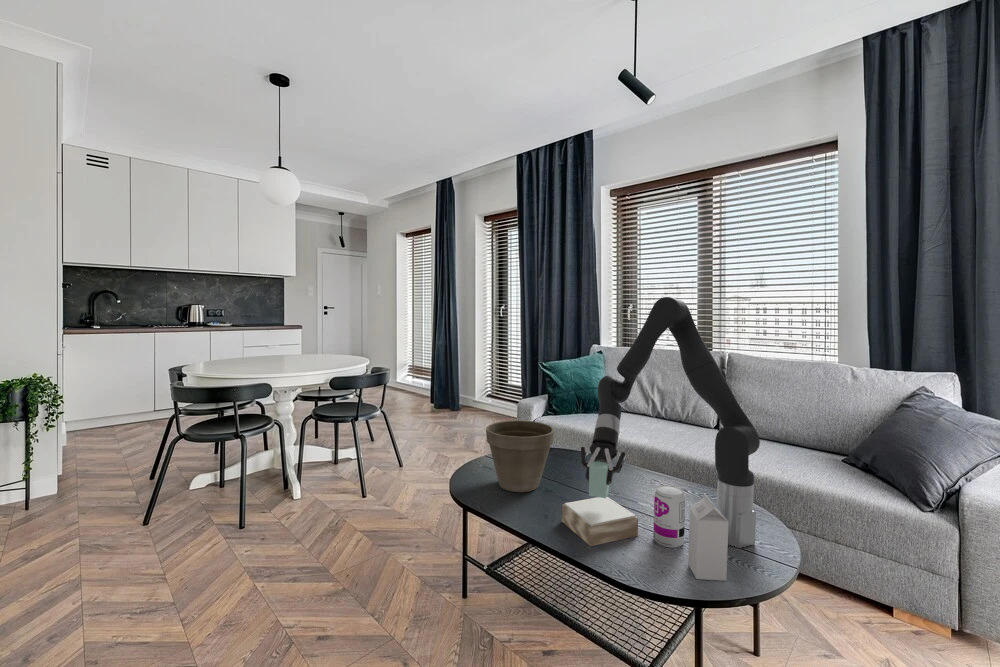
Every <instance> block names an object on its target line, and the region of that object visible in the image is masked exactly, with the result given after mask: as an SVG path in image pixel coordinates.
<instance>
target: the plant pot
mask: <svg viewBox="0 0 1000 667" xmlns="http://www.w3.org/2000/svg"><path fill="white" fill-rule="evenodd" d="M485 432H486V435H485V436H486V442H487V444H489V448H490V452H491V456H492V457H491V458H492V461H493V464H494V469H495V473H496V478H497V480H498V484H499V486H500V488H501V489H503V490H505V491H509V492H513V493H528V492H532V490H533V491H535V490H536V489H538V488H539V486H540V483H541V481H542V480H541V479H542V477H543V473H544V469H545V466H546V463H547V460H548V456H549V453H550V448H551V446H552V445H553V443H554V436H555V429H554V427H552V426H551V425H549V424H548V423H547V424H546V423H543V422H539V421H531V420H504V421H503V420H502V421H498V422H494V423H491V424H489V425H487V426H486V427H485Z"/></svg>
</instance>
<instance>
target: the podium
mask: <svg viewBox="0 0 1000 667" xmlns="http://www.w3.org/2000/svg"><path fill="white" fill-rule="evenodd" d="M561 508H562V510H561V513H562V514H561V516H562V518H561V522H562V523H563V524H564V525H565V526H566V527H568V528H569V529H570V530H571V531H572V532H573V533H574V534H576V535H577V536H578V537H579V538H580V539H581V540H583V542H585V543H586V544H588V546H589V547H593V546H598V545H601V544H602V545H603V544H607V543H611V542H615V541H620V540H624V539H628V538H629V539H630V538H635V537H638V535H639V517H638V516H637V515H636V514H635V513H633V512H632V511H630V510H628V509H627V508H625V507H624V506H623V505H621V504H619V503H617V502H616V501H615V500H613V499H611V498H610V497H609V496H607V497H606V498H601V497H592V498H587V499H582V500H576V501H571V502H570V501H569V502H564V504H562V507H561Z"/></svg>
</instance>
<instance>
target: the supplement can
mask: <svg viewBox="0 0 1000 667" xmlns="http://www.w3.org/2000/svg"><path fill="white" fill-rule="evenodd" d="M653 499H654V500H653V501H654V503H653V505H654V506H653V539H654V541H656V543H657V544H658V545H660V546H662V547H665V548H671V549H676V548H677V549H678V548H680V547H681V546H683V545H684V544H685V529H686V528H685V524H686V522H685V521H686V520H685V519H686V495H685V493H684V491H683V489H682V488H680V487H677V486H675V485H670V484H669V485H665V484H664V485H662V484H661V485H659V486H657V488H656V490H655V491H654V496H653Z"/></svg>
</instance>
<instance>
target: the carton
mask: <svg viewBox="0 0 1000 667" xmlns="http://www.w3.org/2000/svg"><path fill="white" fill-rule="evenodd" d="M608 471H609V464H608V463H607V462H600V461H594V462H592V463H591V464H590V466H589V482H588V496H589V497H590V496H591V497H594V498H597V497H601V498H606V497H608V495H609V492H610V484H609V485H607V484H606V480H607V473H608Z"/></svg>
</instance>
